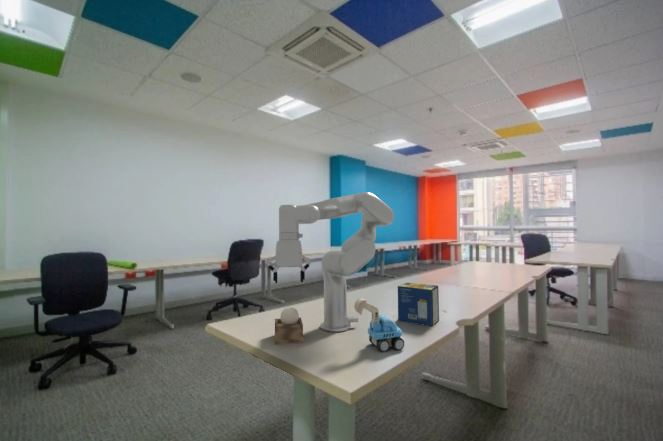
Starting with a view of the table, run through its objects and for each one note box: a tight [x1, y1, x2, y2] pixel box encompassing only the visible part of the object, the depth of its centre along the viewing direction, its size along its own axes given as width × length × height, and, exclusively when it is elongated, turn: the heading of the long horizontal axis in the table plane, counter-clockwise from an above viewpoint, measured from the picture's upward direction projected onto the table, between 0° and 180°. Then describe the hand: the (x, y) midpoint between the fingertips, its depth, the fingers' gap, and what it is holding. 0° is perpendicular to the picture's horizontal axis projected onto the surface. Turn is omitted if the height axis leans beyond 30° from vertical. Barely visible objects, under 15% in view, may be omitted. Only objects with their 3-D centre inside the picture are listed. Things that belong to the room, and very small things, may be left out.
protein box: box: [397, 282, 440, 327], centre depth 137 cm, size 10×15×16 cm
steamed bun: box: [279, 306, 300, 325], centre depth 115 cm, size 7×7×7 cm
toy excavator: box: [353, 297, 405, 353], centre depth 106 cm, size 9×17×17 cm, turn 106°
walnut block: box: [274, 316, 304, 345], centre depth 115 cm, size 10×10×6 cm
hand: (289, 282), depth 116 cm, fingers open, 9 cm apart
